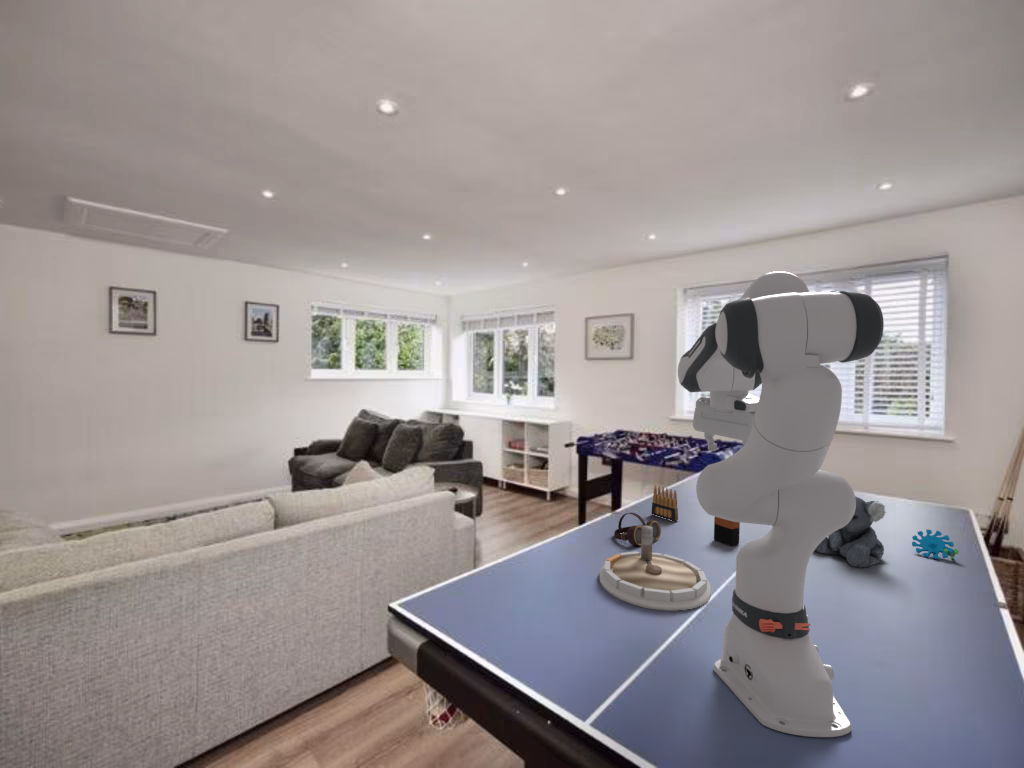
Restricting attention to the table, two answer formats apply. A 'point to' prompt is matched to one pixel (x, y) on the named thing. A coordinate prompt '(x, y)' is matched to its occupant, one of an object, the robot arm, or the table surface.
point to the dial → (653, 568)
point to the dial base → (655, 603)
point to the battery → (726, 531)
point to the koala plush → (857, 536)
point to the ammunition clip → (665, 504)
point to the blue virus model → (934, 545)
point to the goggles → (636, 531)
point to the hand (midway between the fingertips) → (727, 453)
